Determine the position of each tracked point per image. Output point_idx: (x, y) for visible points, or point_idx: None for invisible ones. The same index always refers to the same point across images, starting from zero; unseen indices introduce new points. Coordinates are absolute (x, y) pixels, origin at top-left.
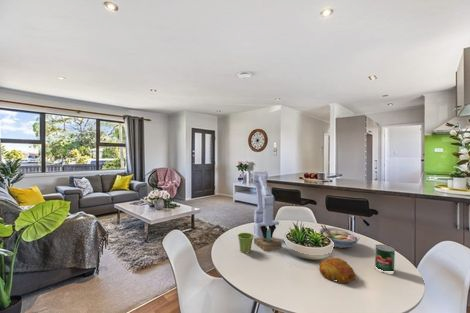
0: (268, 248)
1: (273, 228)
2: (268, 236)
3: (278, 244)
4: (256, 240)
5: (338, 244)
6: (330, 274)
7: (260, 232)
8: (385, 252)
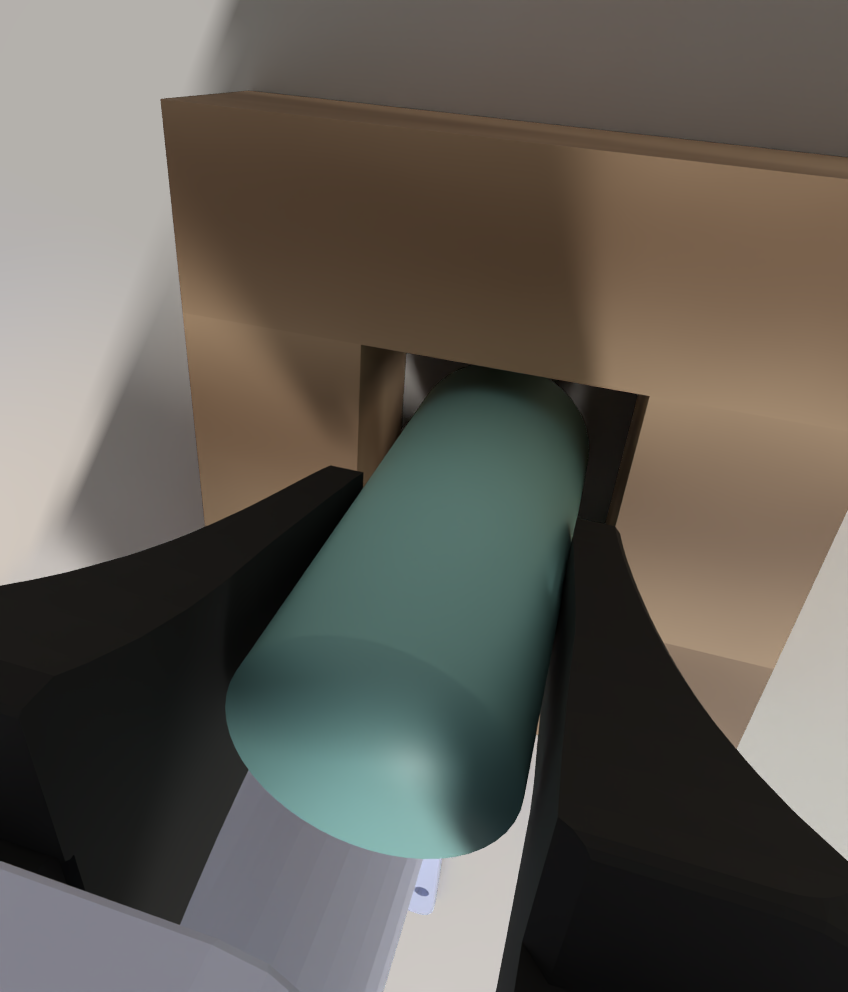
0: (743, 149)
1: (66, 640)
2: (494, 501)
3: (306, 112)
4: (762, 677)
5: None
6: None
7: (366, 857)
8: None
